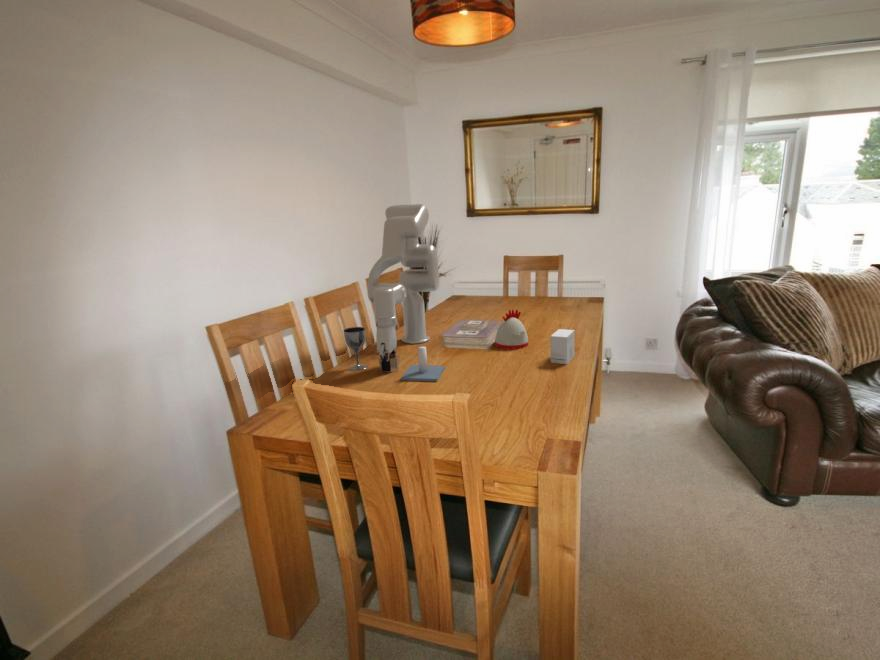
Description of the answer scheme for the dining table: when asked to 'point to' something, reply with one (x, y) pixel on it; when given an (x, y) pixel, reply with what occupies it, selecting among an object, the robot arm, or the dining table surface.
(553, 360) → the skincare box
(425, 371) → the piston stand
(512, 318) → the kitchen timer
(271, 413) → the dining table surface
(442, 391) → the dining table surface
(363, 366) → the wine glass
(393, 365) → the ring
